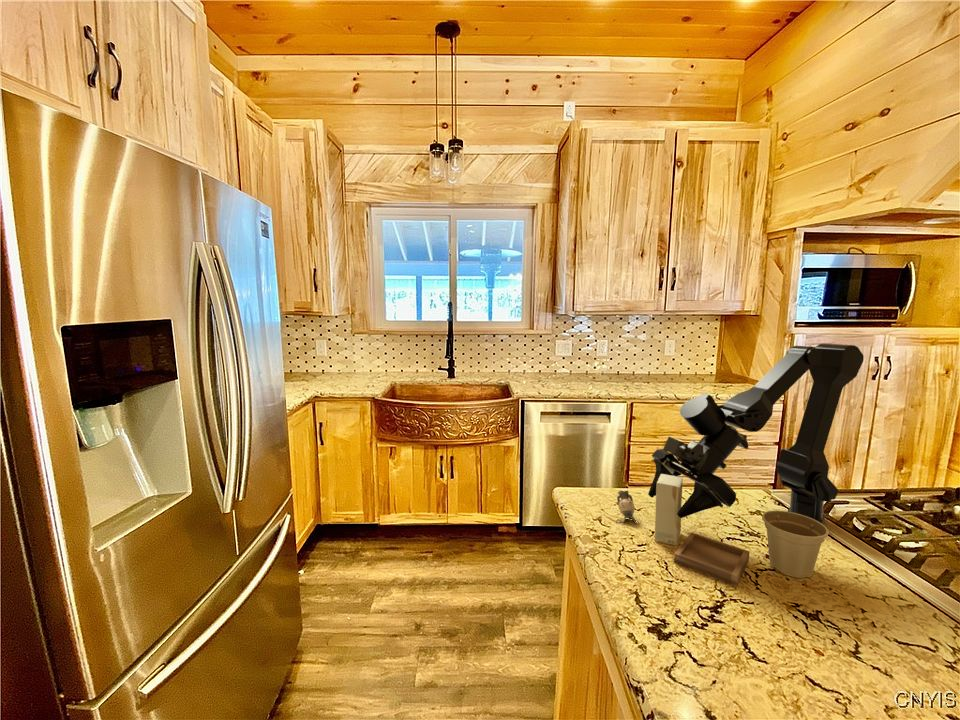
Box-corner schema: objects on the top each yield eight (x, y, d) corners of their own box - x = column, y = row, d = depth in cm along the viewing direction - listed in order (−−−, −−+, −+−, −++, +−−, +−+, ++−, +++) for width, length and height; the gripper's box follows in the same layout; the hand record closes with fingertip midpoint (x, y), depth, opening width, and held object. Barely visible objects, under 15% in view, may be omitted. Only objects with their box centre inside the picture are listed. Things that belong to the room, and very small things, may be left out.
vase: (610, 511, 96) (612, 486, 95) (634, 514, 95) (636, 489, 94) (614, 522, 90) (617, 496, 90) (639, 525, 90) (642, 499, 89)
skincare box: (677, 547, 81) (679, 487, 79) (653, 541, 83) (655, 483, 82) (681, 532, 86) (683, 476, 85) (658, 527, 88) (660, 472, 87)
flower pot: (838, 588, 68) (842, 539, 67) (774, 581, 70) (777, 534, 69) (805, 556, 77) (808, 512, 76) (750, 551, 79) (752, 508, 78)
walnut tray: (690, 540, 83) (691, 532, 83) (748, 560, 76) (749, 551, 76) (674, 562, 76) (674, 553, 75) (736, 586, 69) (737, 576, 69)
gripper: (660, 413, 92) (614, 465, 91) (726, 437, 74) (670, 501, 73) (689, 445, 94) (645, 495, 93) (760, 475, 76) (706, 538, 75)
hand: (663, 505), depth 83 cm, fingers open, 9 cm apart
